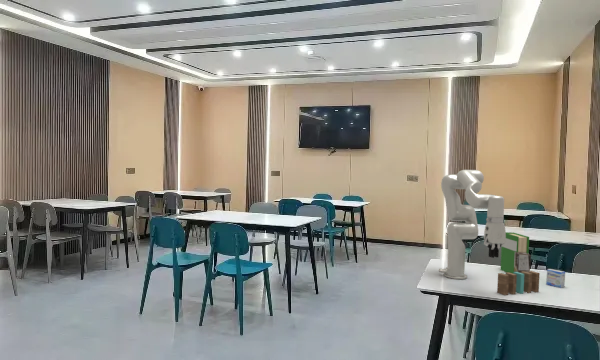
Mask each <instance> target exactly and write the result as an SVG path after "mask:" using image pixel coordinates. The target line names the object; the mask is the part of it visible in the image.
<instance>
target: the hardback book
mask: <svg viewBox="0 0 600 360" xmlns="http://www.w3.org/2000/svg"><path fill="white" fill-rule="evenodd" d="M505 232H506V231H505ZM529 248H530V236H527V235H524V234H521V233H517V232H512V231H511V232H506V241H505V243H504V244H503V245H502V246H501V247H500V249H501V253H500V271H502V272H504V273H505V274H506V273H508V272H509V273H514V256H515V252H525V253H528V254H529V255H530V253H529V251H530V249H529Z"/></svg>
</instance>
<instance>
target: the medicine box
mask: <svg viewBox="0 0 600 360" xmlns="http://www.w3.org/2000/svg"><path fill="white" fill-rule="evenodd" d="M545 279H546V281H545V284H546V286H549V287H555V288H560V289H563V288H565V282H566V271H564V270H559V269H553V268H547V270H546V278H545Z"/></svg>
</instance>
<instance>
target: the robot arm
mask: <svg viewBox="0 0 600 360" xmlns="http://www.w3.org/2000/svg"><path fill="white" fill-rule="evenodd" d="M484 180H485V175H484V174H483V172H482V171H480V170H478V169H462V170H459V171H458V172H457V173H456V174H454V173H453V174H446V175H444V176H443V177H442V179H441V182H440V183H441V185H440V186H441V191H442V193H443V196H444V200H445V206H446V207H445V208H446V213H447V214H446V215H447V218H448V220H450V221H452V223H450V224H448V226H447V228H446V232H447V242H448V244H447V265H446V266H447V267H445V268H438V272H439V273H442V274H443V273H444V274H443V275H444V277H446V278H449V279H455V280H466V279H467V278H468V275H467V274H465V265H466V245H465V243H464V242H463V240H475V239H477V237H478V236H479V226H478V219H477V213H476V210H480V209H481V210H486V211H487V214H486V219H485V220H486V223H485V226H484V227H485V228H484V233H483V241H484V242H483V246H486V247H487V250H488V257H489V258H493V259H494V258H499V250H500V249H501V248H502V245H503V244H504V243H505V241H506V225H505V223H504V219H505V218H504V215H505V198H504V197H503V196H502V195H496V194H495V195H494V194H488V193H487V194H486V193H484V194H483V193H482V194H481V193H479V192H481V190H482V188H483V182H484ZM456 190H465V192H464V197H465V201H466V202H467V203H468V204H462V201H461V197H460V194H459V193H458V192H457V191H456ZM475 209H476V210H475ZM453 221H454V222H453Z"/></svg>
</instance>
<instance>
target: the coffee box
mask: <svg viewBox="0 0 600 360" xmlns="http://www.w3.org/2000/svg"><path fill="white" fill-rule="evenodd" d="M531 257H532V255H531V254H530V253H529V254H528V253H525V252H515V256H514V272H519V273H521V272H522V271H524V272H528V273H529V271H531V260H532V259H531Z"/></svg>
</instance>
